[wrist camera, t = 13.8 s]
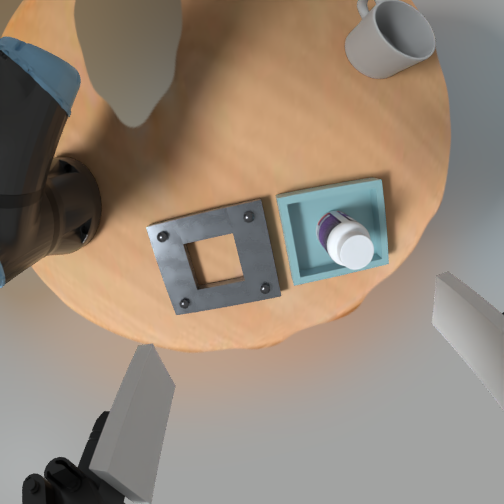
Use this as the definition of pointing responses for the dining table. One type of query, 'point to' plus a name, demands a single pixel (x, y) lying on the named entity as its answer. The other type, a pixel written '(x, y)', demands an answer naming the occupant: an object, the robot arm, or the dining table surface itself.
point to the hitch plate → (208, 226)
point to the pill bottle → (345, 240)
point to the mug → (389, 38)
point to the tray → (313, 208)
